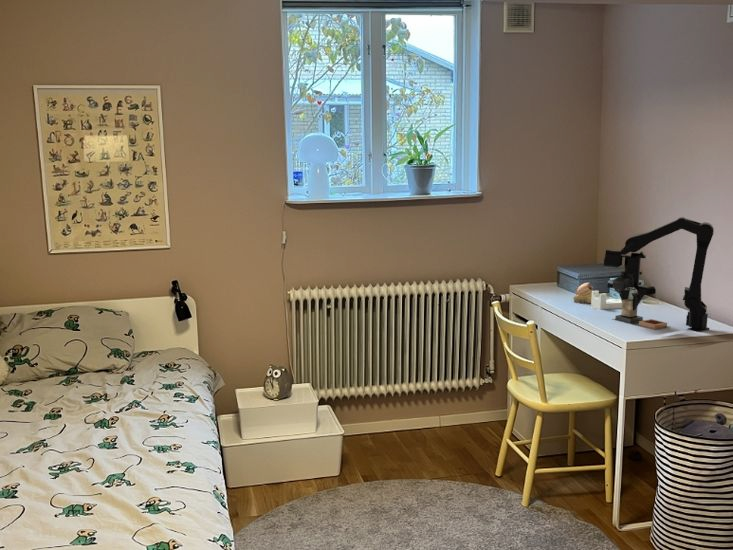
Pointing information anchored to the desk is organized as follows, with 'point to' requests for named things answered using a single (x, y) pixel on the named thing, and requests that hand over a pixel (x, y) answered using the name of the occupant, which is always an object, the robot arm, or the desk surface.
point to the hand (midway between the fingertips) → (629, 309)
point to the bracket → (604, 301)
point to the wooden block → (628, 308)
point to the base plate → (642, 322)
